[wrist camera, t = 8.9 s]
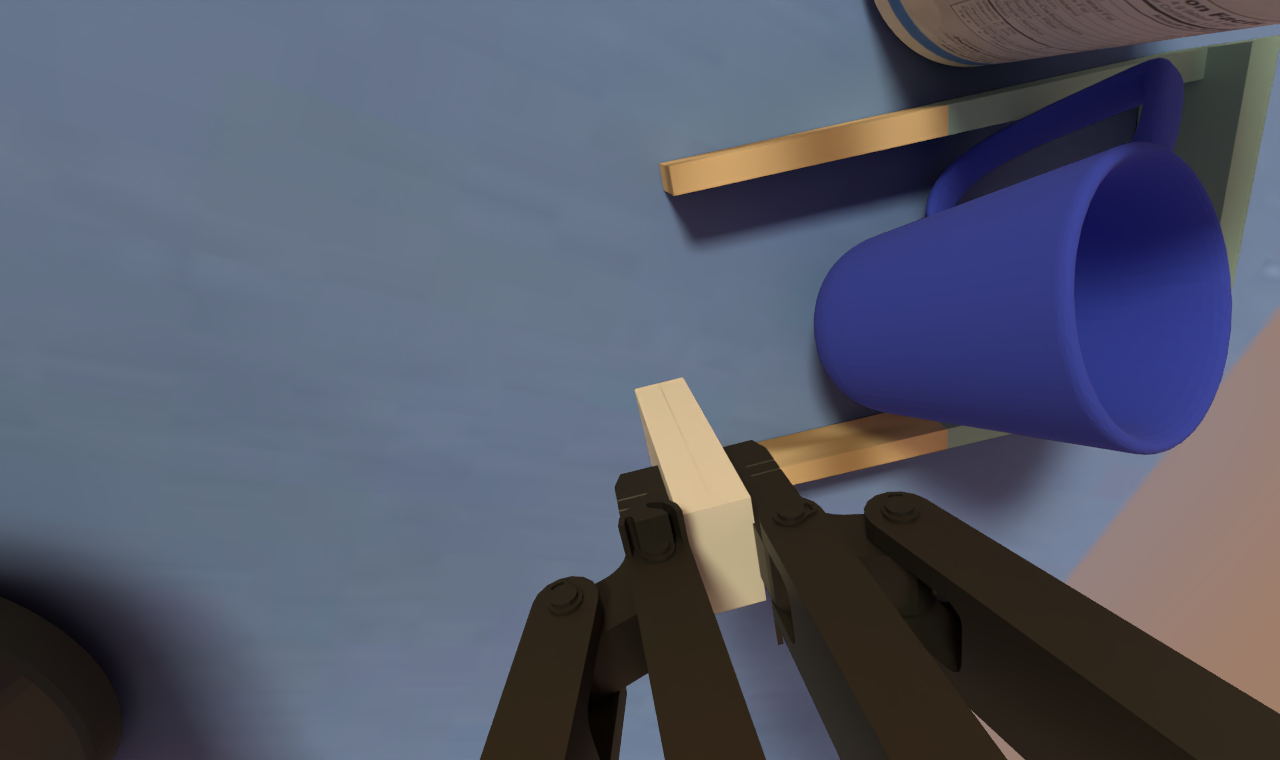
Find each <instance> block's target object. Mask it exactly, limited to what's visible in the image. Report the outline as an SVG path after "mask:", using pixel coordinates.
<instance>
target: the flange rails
mask: <svg viewBox="0 0 1280 760" xmlns="http://www.w3.org/2000/svg"><path fill="white" fill-rule="evenodd" d="M947 135H948V105H942V106H931V107H920V108H910V109H905V110H901V111H896V112H892V113H887V114H883V115H878V116H874V117H869V118H865V119H860V120H856V121H851V122H846V123H842V124H837V125H833V126H828V127H824V128H819V129H815V130H810V131H806V132H801V133H796V134H792V135H787V136H783V137H778V138H774V139H769V140H765V141H760V142H756V143H751V144H746V145H742V146H737V147H733V148H728V149H724V150H719V151H715V152H710V153H706V154H701V155H696V156H692V157H687V158H683V159H678V160H674V161H669V162H665V163H660V164H659V165H660V171H661V177H662V182H663V188H664V191H666V192H668V193H670V194H671V195H673V196H676V195H681V194H685V193H690V192H694V191H699V190H704V189H708V188H713V187H717V186H722V185H726V184H731V183H735V182H740V181H744V180H749V179H753V178H758V177H762V176H767V175H771V174H776V173H780V172H785V171H789V170H794V169H798V168H803V167H807V166H812V165H816V164H821V163H825V162H830V161H834V160H839V159H843V158H848V157H852V156H857V155H862V154H866V153H871V152H875V151H880V150H884V149H889V148H893V147H898V146H902V145H907V144H911V143H916V142H920V141H925V140H929V139H934V138H938V137H943V136H947ZM947 431H948V429H947V428H945V427H944V426H943V425H942V424H940V423H939V422H938V421H932V420H926V419H919V418H913V417H907V416H901V415H895V414H889V413H881V414H877V415H873V416H869V417H864V418H860V419H856V420H851V421H847V422H843V423H838V424H834V425H830V426H825V427H821V428H817V429H813V430H808V431H804V432H800V433H795V434H791V435H787V436H782V437H778V438H774V439H769V440H765V441H761V442H756V443H758V444H760V445H762V446H764V447H766V448H767V450H768V451H769V452H770V454H771V455H772V457H773V458H774V460H775V461H776V462H777V464H778V465H779V467H780V469H782V471H783V472H784V474H785V475H786V476H787V478H788V479H789V481H790V482H791V483H792V485H795V484H799V483H804V482H808V481H812V480H817V479H821V478H825V477H829V476H834V475H838V474H842V473H846V472H851V471H855V470H859V469H864V468H868V467H872V466H876V465H881V464H885V463H889V462H894V461H898V460H902V459H906V458H911V457H915V456H919V455H923V454H928V453H932V452H936V451H941V450H945V449H947Z"/></svg>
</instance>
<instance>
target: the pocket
mask: <svg viewBox="0 0 1280 760" xmlns="http://www.w3.org/2000/svg"><path fill="white" fill-rule="evenodd" d="M1279 46H1280V35H1277V36H1271V37H1264V38H1257V39H1250V40H1243V41H1237V42H1230V43H1223V44H1216V45H1210V46H1203V47H1196V48H1189V49H1182V50H1176V51H1169V52H1164V53H1160V54H1155V55H1151V56H1146V57H1142V58H1137V59H1133V60H1128V61H1124V62H1119V63H1114V64H1110V65H1105V66H1101V67H1096V68H1092V69H1087V70H1083V71H1078V72H1074V73H1069V74H1064V75H1060V76H1055V77H1051V78H1046V79H1042V80H1037V81H1033V82H1028V83H1024V84H1019V85H1015V86H1010V87H1005V88H1001V89H996V90H992V91H987V92H983V93H978V94H974V95H969V96H965V97H960V98H955V99H951V100H946V101H942V102H937V103H933V104H928V105H924V106H919V107H915V108H920V107H931V106H942V105H948V135H952V134H956V133H961V132H965V131H970V130H974V129H979V128H983V127H988V126H992V125H997V124H1001V123H1006V122H1010V121H1015V120H1020V119H1022V118H1024V117H1026V116H1028V115H1030V114H1032V113H1034V112H1036V111H1038V110H1040V109H1042V108H1044V107H1046V106H1048V105H1050V104H1052V103H1054V102H1056V101H1058V100H1061V99H1063V98H1065V97H1067V96H1069V95H1071V94H1074V93H1076V92H1078V91H1080V90H1082V89H1084V88H1087V87H1089V86H1091V85H1093V84H1095V83H1098V82H1100V81H1102V80H1104V79H1106V78H1108V77H1111V76H1113V75H1115V74H1117V73H1119V72H1122V71H1124V70H1126V69H1128V68H1130V67H1133V66H1135V65H1138V64H1140V63H1143V62H1145V61H1148V60H1151V59H1155V58H1164V59H1168V60H1169V61H1170V62H1171V63H1172V64H1173V65H1174V66H1175V67H1176V68H1177V70H1178V71H1179V72H1180V74H1181V76H1182V79H1183V83H1184V100H1183V109H1182V117H1181V123H1180V128H1179V133H1178V137H1177V140H1176V144H1175V147H1174V150H1173V152H1174V153H1176V154H1177V155H1178V156H1179V157H1180V158H1182V159H1183V160H1184V161H1185V162H1186V163H1187V164H1188V165H1189V167H1190V168H1191V169H1192V170H1193V171H1194V173H1195V174H1196V175H1197V177H1198V178H1199V180H1200V181H1201V183H1202V184H1203V186H1204V188H1205V190H1206V192H1207V194H1208V195H1209V197H1210V199H1211V201H1212V204H1213V206H1214V209H1215V212H1216V215H1217V217H1218V220H1219V223H1220V225H1221V229H1222V233H1223V237H1224V241H1225V245H1226V249H1227V255H1228V262H1229V269H1230V276H1231V293H1232V288H1233V283H1234V278H1235V273H1236V268H1237V262H1238V257H1239V252H1240V247H1241V242H1242V237H1243V232H1244V226H1245V221H1246V216H1247V211H1248V206H1249V201H1250V195H1251V190H1252V185H1253V180H1254V175H1255V170H1256V165H1257V159H1258V154H1259V149H1260V144H1261V139H1262V134H1263V129H1264V123H1265V118H1266V113H1267V108H1268V103H1269V98H1270V93H1271V87H1272V82H1273V77H1274V72H1275V67H1276V62H1277V57H1278V51H1279ZM1142 108H1143V104H1142V105H1140V106H1139V112H1138V121H1137V127H1138V123H1139V119H1140V115H1141V112H1142ZM1136 130H1137V129H1136ZM939 423H940V424H942V425H943V426H944V427H945V428H947V429H948V431H947V449H949V448H953V447H958V446H962V445H966V444H970V443H975V442H979V441H983V440H988V439H992V438H996V437H1000V436H1005V435H1009V434H1011V433H1005V432H999V431H993V430H987V429H981V428H974V427H968V426H962V425H956V424H950V423H944V422H939Z"/></svg>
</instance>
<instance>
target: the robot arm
mask: <svg viewBox="0 0 1280 760" xmlns="http://www.w3.org/2000/svg"><path fill="white" fill-rule="evenodd" d="M634 390H635V394H636V398H637V403H638V407H639V412H640V416H641V421H642V425H643V430H644V434H645V438H646V443H647V447H648V452H649V456H650V461H651V465H652V467H648V468H644V469H640V470H636V471H632V472H628V473H624V474H620V476H619V479H618V481H617V483H616V485H615V492H616V497H617V503H618V508H619V513H620V518H619V524H618V528H619V532H620V536H621V539H622V543H623V547H624V551H625V555H626V556H625V559H624V561H623V563H622V564H621V566H620V567H619V568H618V569H617V570H616V571H615V572H614V573H613V574H611V575H610V576H608V577H607V578H605V579H603V580H602V581H600V582H598V583H596V584H594V582H593V581H591V580H589V579H587V578H585V577H575V576H571V577H567V578H562V579H559V580H557V581H555V582H553V583H551V584H549V585H547V586H546V587H545V588H544V589H543V590H542V591H541V592H540V593H539V594H538V595H537V597H536V599H535V600H534V602H533V604H532V607H531V610H530V613H529V616H528V619H527V622H526V625H525V628H524V631H523V634H522V637H521V640H520V643H519V646H518V648H517V651H516V654H515V657H514V660H513V663H512V666H511V669H510V672H509V675H508V678H507V681H506V684H505V687H504V690H503V693H502V696H501V699H500V702H499V705H498V708H497V711H496V714H495V717H494V720H493V722H492V725H491V728H490V731H489V734H488V737H487V740H486V743H485V746H484V749H483V752H482V755H481V758H480V760H619V752H620V744H621V736H622V729H623V721H624V713H625V705H626V697H627V691H626V686H628V685H629V684H631V683H632V682H634V681H636V680H637V679H639V678H641V677H642V676H644V675H645V674H647V673H649V679H650V684H651V689H652V694H653V699H654V705H655V710H656V715H657V720H658V726H659V731H660V736H661V741H662V747H663V752H664V757H665V760H766V759H765V756H764V753H763V750H762V747H761V745H760V742H759V739H758V736H757V733H756V730H755V728H754V725H753V722H752V719H751V716H750V713H749V711H748V708H747V705H746V702H745V699H744V697H743V694H742V691H741V688H740V685H739V682H738V680H737V677H736V674H735V671H734V668H733V665H732V663H731V660H730V657H729V654H728V651H727V649H726V646H725V643H724V640H723V637H722V634H721V632H720V629H719V626H718V623H717V620H716V617H715V615H714V614H717V613H721V612H724V611H728V610H732V609H736V608H739V607H743V606H747V605H751V604H754V603H758V602H762V601H766V595H765V588H764V585H765V587H766V589H767V591H768V593H769V595H770V597H771V601H772V608H773V615H774V621H775V628H776V635H777V640H778V645H781V644H783V638H784V640H785V642H786V644H787V646H788V648H789V650H790V653H791V655H792V657H793V659H794V661H795V663H796V665H797V667H798V670H799V672H800V674H801V676H802V678H803V680H804V682H805V685H806V687H807V689H808V691H809V693H810V695H811V697H812V699H813V702H814V704H815V706H816V708H817V710H818V712H819V714H820V717H821V719H822V721H823V723H824V725H825V727H826V729H827V731H828V734H829V736H830V738H831V740H832V742H833V744H834V746H835V748H836V751H837V753H838V755H839V757H840V759H841V760H1007V759H1006V757H1005V756H1004V754H1003V753H1002V752H1001V750H1000V749H999V748H998V746H997V745H996V744H995V742H994V741H993V740H992V738H991V737H990V736H989V734H988V733H987V731H986V730H985V729H984V727H983V726H982V725H981V723H980V722H979V721H978V719H977V718H976V717H975V715H974V714H973V713H972V711H973V712H974V713H975V714H976V715H977V716H978V717H980V718H981V719H982V720H983V721H984V722H985V723H986V724H987V725H988V726H989V727H990V728H991V729H993V730H994V731H995V732H996V733H997V734H998V735H999V736H1000V737H1001V738H1002V739H1004V741H1005V742H1007V743H1008V744H1009V745H1010V746H1011V747H1012V748H1013V749H1014V750H1015V751H1016V752H1017V753H1018V754H1020V755H1021V756H1022V757H1023V758H1024V759H1025V760H1280V714H1279V713H1277V712H1276V711H1274V710H1272V709H1271V708H1269V707H1267V706H1266V705H1264V704H1262V703H1261V702H1259V701H1257V700H1256V699H1254V698H1253V697H1251V696H1249V695H1248V694H1246V693H1244V692H1242V691H1241V690H1239V689H1238V688H1236V687H1234V686H1233V685H1231V684H1229V683H1228V682H1226V681H1225V680H1223V679H1221V678H1220V677H1218V676H1216V675H1215V674H1213V673H1211V672H1210V671H1208V670H1206V669H1205V668H1203V667H1201V666H1200V665H1198V664H1197V663H1195V662H1193V661H1192V660H1190V659H1188V658H1187V657H1185V656H1183V655H1181V654H1180V653H1178V652H1177V651H1175V650H1173V649H1172V648H1170V647H1169V646H1167V645H1165V644H1163V643H1162V642H1160V641H1159V640H1157V639H1155V638H1154V637H1152V636H1150V635H1149V634H1147V633H1145V632H1144V631H1142V630H1141V629H1139V628H1137V627H1136V626H1134V625H1132V624H1131V623H1129V622H1127V621H1126V620H1124V619H1122V618H1121V617H1119V616H1117V615H1116V614H1114V613H1112V612H1111V611H1109V610H1107V609H1106V608H1104V607H1103V606H1101V605H1099V604H1098V603H1096V602H1094V601H1093V600H1091V599H1089V598H1087V597H1086V596H1085V595H1083V594H1081V593H1080V592H1078V591H1076V590H1075V589H1073V588H1071V587H1070V586H1068V585H1066V584H1065V583H1063V582H1062V581H1060V580H1058V579H1057V578H1055V577H1053V576H1052V575H1050V574H1048V573H1047V572H1045V571H1043V570H1042V569H1040V568H1038V567H1037V566H1035V565H1034V564H1032V563H1030V562H1029V561H1027V560H1025V559H1024V558H1022V557H1020V556H1019V555H1017V554H1015V553H1014V552H1012V551H1010V550H1009V549H1007V548H1006V547H1004V546H1002V545H1001V544H999V543H997V542H996V541H994V540H992V539H991V538H989V537H987V536H986V535H984V534H982V533H981V532H979V531H978V530H976V529H974V528H973V527H971V526H969V525H968V524H966V523H964V522H963V521H961V520H959V519H958V518H956V517H954V516H953V515H951V514H950V513H948V512H946V511H945V510H943V509H941V508H940V507H938V506H936V505H935V504H933V503H931V502H930V501H928V500H927V499H925V498H922V497H920V496H918V495H915V494H911V493H906V492H886V493H883V494H879V495H876V496H874V497H873V498H872V499H870V500H869V501H868V502H867V504H866V506H865V508H864V514H852V515H836V514H829V513H825V512H824V511H823V509H822V508H821V507H820V506H819V505H817V504H816V503H815V502H814V501H811V500H808V499H806V498H801V496H800V495H799V493H798V492H797V491H796V489H795V488H794V486H793V485H792V483H791V482H790V481H789V479H788V478H787V476H786V475H785V474H784V472H783V471H782V469H780V467H779V465H778V464H777V462H776V461H775V460H774V458H773V457H772V455H771V454H770V452H769V451H768V450H767V448H766V447H764V446H762V445H760V444H758V443H756V442H754V441H753V440H750V441H746V442H742V443H738V444H734V445H730V446H726V447H722V446H721V444H720V442H719V440H718V439H717V437H716V435H715V433H714V432H713V430H712V428H711V426H710V425H709V423H708V421H707V419H706V418H705V416H704V414H703V412H702V410H701V409H700V407H699V405H698V403H697V402H696V400H695V398H694V396H693V395H692V393H691V391H690V389H689V388H688V386H687V384H686V382H685V381H684V379H683V378H678V379H674V380H670V381H666V382H662V383H658V384H654V385H650V386H646V387H642V388H637V389H634ZM782 635H783V637H782ZM970 709H971V710H972V711H971V710H970ZM121 732H122V717H121V710H120V706H119V702H118V699H117V696H116V693H115V691H114V689H113V687H112V685H111V683H110V682H109V680H108V678H107V676H106V675H105V673H104V672H103V671H102V669H101V668H100V666H99V665H98V664H97V663H96V662H95V660H94V659H93V658H92V657H91V656H90V655H89V654H88V653H87V652H86V651H85V650H84V649H83V648H82V647H81V646H80V645H79V644H78V643H77V642H76V641H74V640H73V639H72V638H71V637H69V636H68V635H67V634H66V633H64V632H63V631H62V630H60V629H59V628H57V627H56V626H55V625H53V624H52V623H50V622H48V621H47V620H45V619H44V618H42V617H40V616H39V615H37V614H35V613H33V612H31V611H30V610H28V609H26V608H24V607H22V606H20V605H18V604H16V603H13V602H11V601H9V600H7V599H4V598H2V597H0V760H112V759H113V757H114V755H115V753H116V751H117V749H118V746H119V743H120V739H121Z"/></svg>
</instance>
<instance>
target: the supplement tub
mask: <svg viewBox="0 0 1280 760" xmlns="http://www.w3.org/2000/svg"><path fill="white" fill-rule="evenodd" d="M874 1H875V4H876V6H877V8H878V10H879V12H880V14H881V15H882V17H883V19H884V20H885V22H886V23H887V25H888V26H889V27H890V28H891V30H892V31H893V32H894V33H895V35H896V36H897V37H898V38H899V39H900V40H901V41H902V42H903V43H905V44H906V45H907V46H908V47H909V48H911V49H912V50H913V51H915V52H917V53H918V54H920V55H922V56H924V57H926V58H928V59H930V60H932V61H935V62H938V63H942V64H946V65H950V66H958V67H978V66H985V65H992V64H1000V63H1008V62H1015V61H1022V60H1029V59H1036V58H1043V57H1049V56H1056V55H1063V54H1070V53H1078V52H1085V51H1091V50H1098V49H1105V48H1113V47H1120V46H1127V45H1133V44H1140V43H1147V42H1154V41H1161V40H1168V39H1175V38H1182V37H1189V36H1196V35H1203V34H1210V33H1217V32H1224V31H1231V30H1238V29H1245V28H1252V27H1259V26H1266V25H1273V24H1280V0H874Z"/></svg>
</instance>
